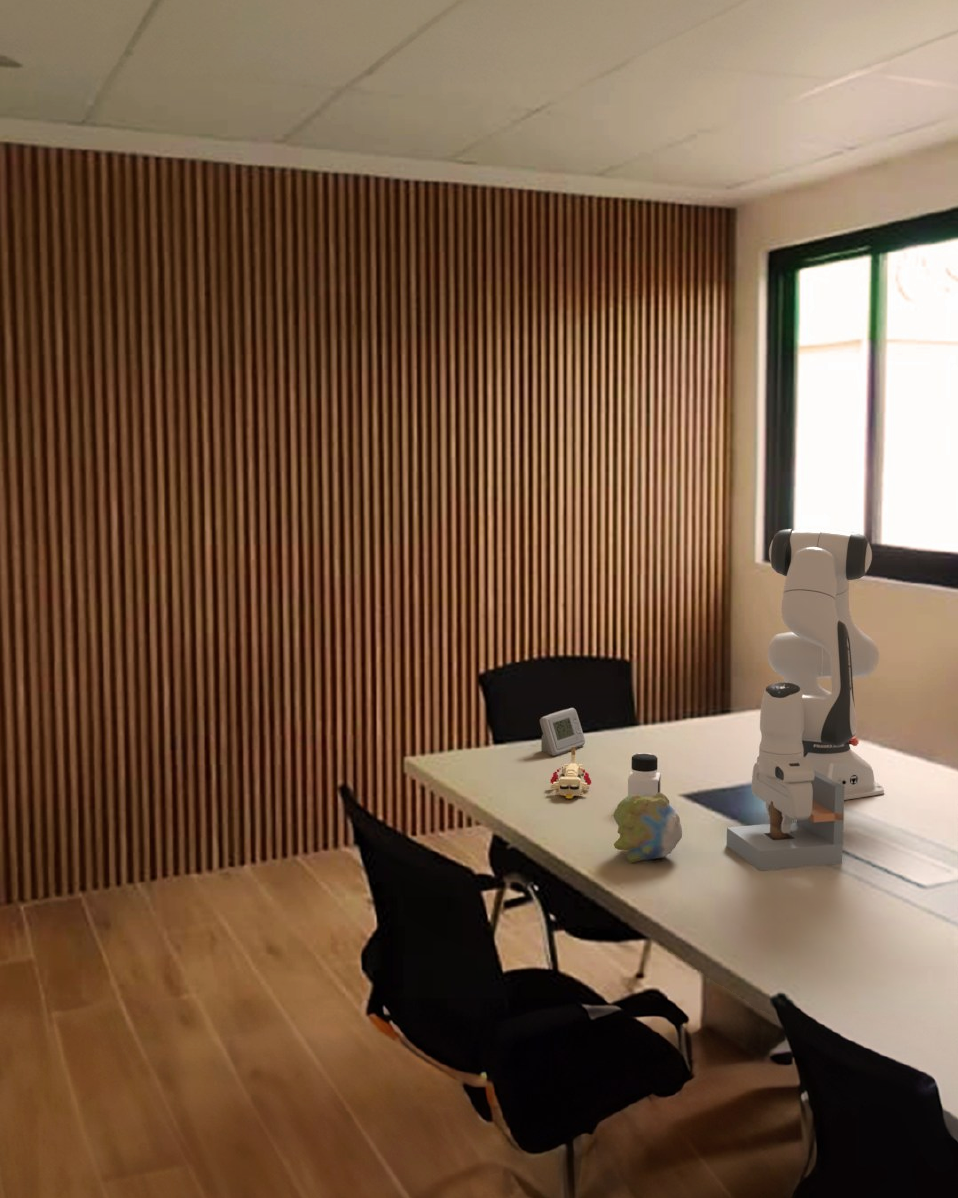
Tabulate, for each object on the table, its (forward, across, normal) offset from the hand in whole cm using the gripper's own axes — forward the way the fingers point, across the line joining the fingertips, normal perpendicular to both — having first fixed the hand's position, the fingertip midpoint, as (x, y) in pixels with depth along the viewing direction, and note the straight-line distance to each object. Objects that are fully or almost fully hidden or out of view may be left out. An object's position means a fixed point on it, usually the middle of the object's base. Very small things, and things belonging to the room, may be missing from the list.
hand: (779, 828), depth 264 cm
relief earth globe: (+6, -6, -28) cm, 29 cm away
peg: (+4, 0, 0) cm, 4 cm away
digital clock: (+6, -96, -17) cm, 97 cm away
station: (+6, 0, 0) cm, 6 cm away
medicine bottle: (+6, -41, -14) cm, 44 cm away
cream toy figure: (+6, -60, -26) cm, 66 cm away
